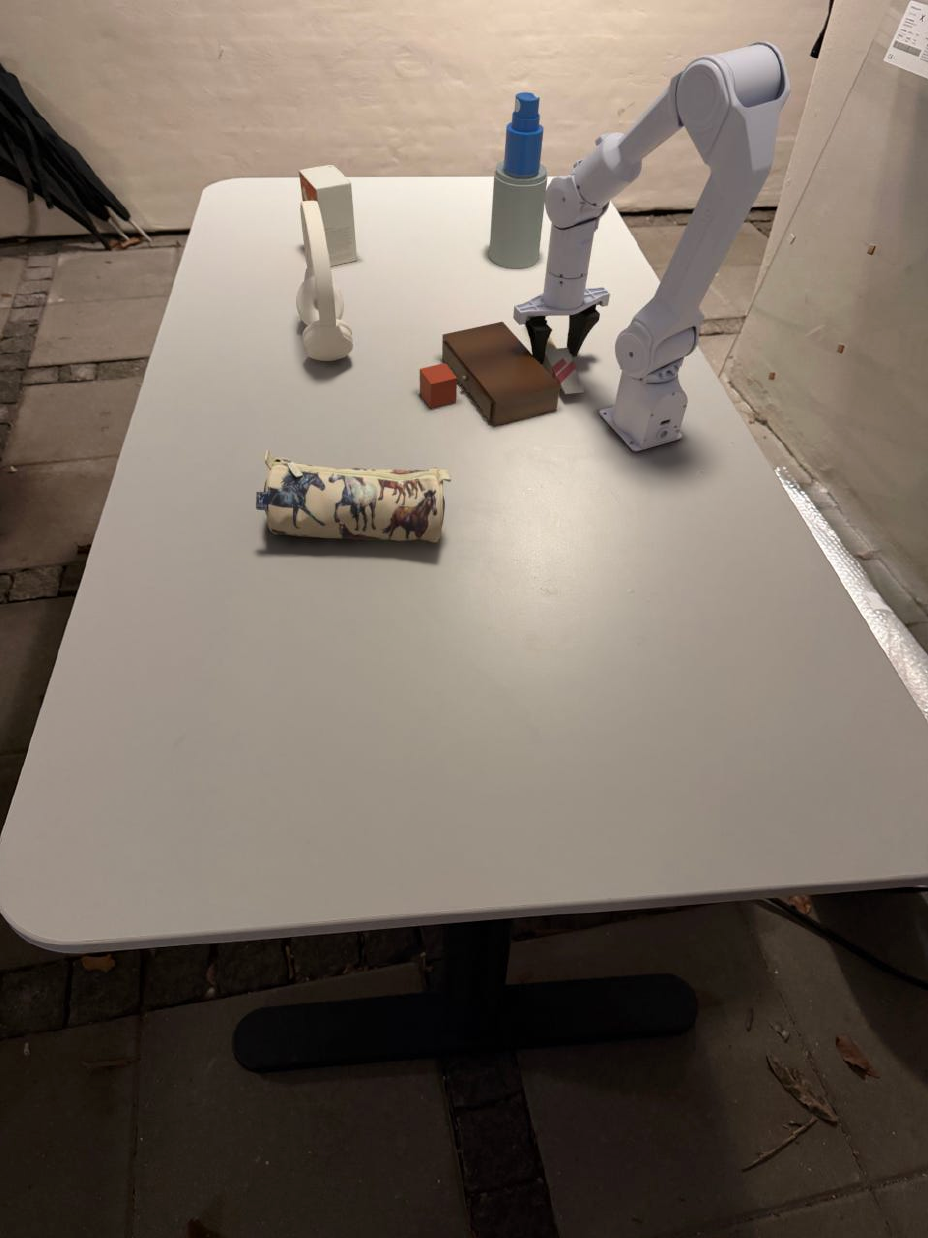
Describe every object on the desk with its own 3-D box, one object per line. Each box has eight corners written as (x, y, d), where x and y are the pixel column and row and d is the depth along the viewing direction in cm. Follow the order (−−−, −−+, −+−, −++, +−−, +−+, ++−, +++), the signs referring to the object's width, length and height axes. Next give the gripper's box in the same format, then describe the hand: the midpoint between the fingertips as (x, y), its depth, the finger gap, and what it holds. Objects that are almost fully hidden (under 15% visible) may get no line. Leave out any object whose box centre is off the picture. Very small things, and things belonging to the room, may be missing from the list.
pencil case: (262, 550, 91) (247, 486, 83) (276, 500, 96) (263, 437, 89) (448, 559, 91) (449, 496, 84) (451, 509, 96) (453, 446, 89)
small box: (307, 247, 138) (297, 169, 128) (340, 241, 140) (333, 163, 130) (324, 268, 134) (315, 188, 124) (358, 261, 136) (352, 181, 126)
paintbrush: (563, 385, 109) (524, 316, 122) (560, 402, 111) (523, 333, 124) (589, 382, 109) (548, 314, 122) (586, 399, 111) (546, 330, 124)
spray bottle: (502, 272, 135) (515, 108, 116) (480, 249, 140) (489, 88, 121) (547, 263, 138) (566, 101, 118) (524, 241, 143) (539, 82, 123)
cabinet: (556, 409, 110) (560, 385, 107) (488, 427, 107) (490, 403, 104) (500, 344, 120) (502, 321, 117) (437, 359, 117) (437, 335, 114)
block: (457, 377, 108) (430, 384, 106) (456, 402, 111) (430, 408, 109) (445, 362, 110) (419, 368, 109) (444, 386, 113) (419, 393, 112)
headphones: (309, 380, 113) (290, 242, 97) (297, 315, 124) (278, 181, 108) (358, 375, 114) (347, 238, 98) (341, 311, 125) (329, 178, 110)
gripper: (597, 246, 110) (583, 334, 121) (506, 264, 106) (499, 353, 116) (624, 269, 106) (606, 357, 117) (530, 288, 102) (521, 378, 112)
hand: (554, 357), depth 116 cm, fingers open, 5 cm apart
